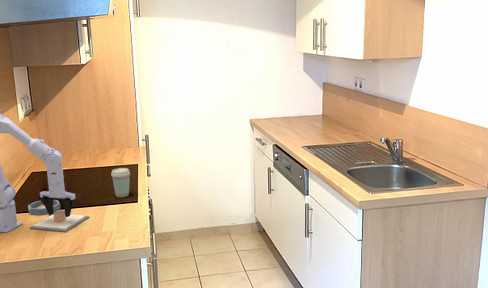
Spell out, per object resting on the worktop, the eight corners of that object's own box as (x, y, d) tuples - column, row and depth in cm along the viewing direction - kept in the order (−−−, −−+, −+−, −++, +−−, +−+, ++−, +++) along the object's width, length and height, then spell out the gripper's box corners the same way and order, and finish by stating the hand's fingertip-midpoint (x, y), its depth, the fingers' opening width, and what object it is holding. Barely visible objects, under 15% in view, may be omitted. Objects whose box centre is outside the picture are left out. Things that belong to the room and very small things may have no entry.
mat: (66, 232, 189) (65, 231, 189) (29, 228, 193) (29, 227, 193) (89, 217, 204) (89, 216, 204) (55, 214, 208) (55, 213, 208)
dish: (48, 215, 207) (47, 210, 207) (23, 213, 210) (22, 208, 210) (65, 206, 218) (64, 200, 218) (41, 204, 221) (40, 199, 221)
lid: (65, 229, 190) (64, 219, 189) (33, 227, 194) (32, 216, 193) (85, 217, 203) (84, 207, 203) (55, 214, 207) (54, 204, 206)
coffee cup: (124, 191, 238) (122, 166, 235) (135, 194, 232) (133, 169, 230) (108, 196, 231) (106, 170, 229) (120, 199, 226) (118, 173, 223)
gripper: (78, 180, 197) (81, 213, 200) (46, 178, 201) (49, 210, 204) (67, 185, 190) (71, 219, 193) (34, 183, 194) (38, 216, 197)
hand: (59, 215), depth 198 cm, fingers open, 7 cm apart
